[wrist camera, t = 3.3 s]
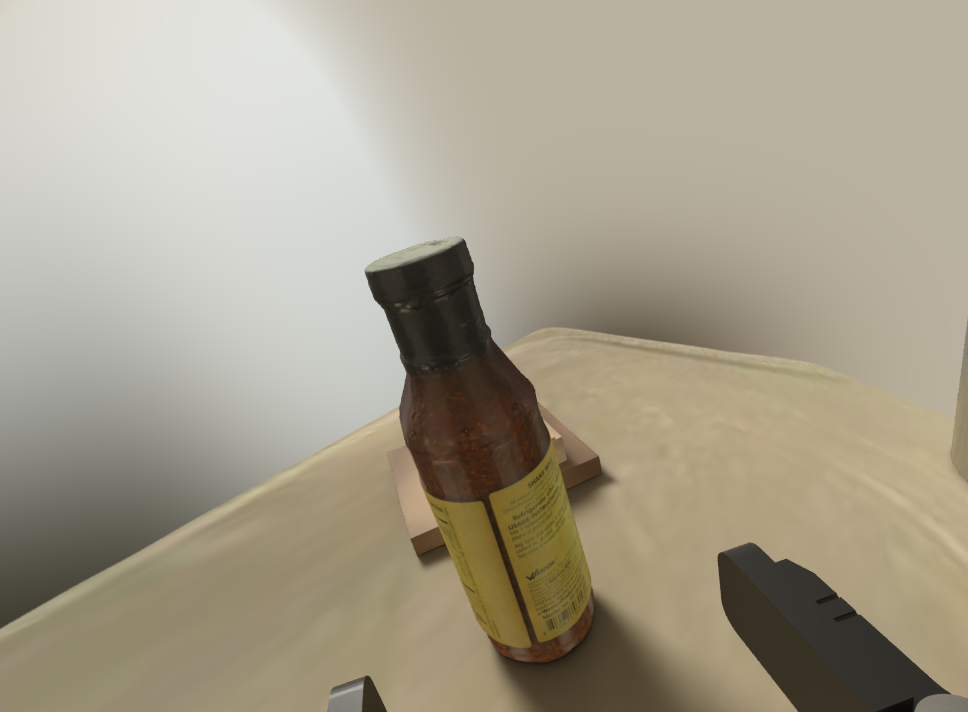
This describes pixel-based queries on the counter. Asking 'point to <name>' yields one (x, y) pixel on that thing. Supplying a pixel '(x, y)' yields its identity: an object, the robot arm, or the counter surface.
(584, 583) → the sauce bottle
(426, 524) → the pedestal
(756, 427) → the counter surface
